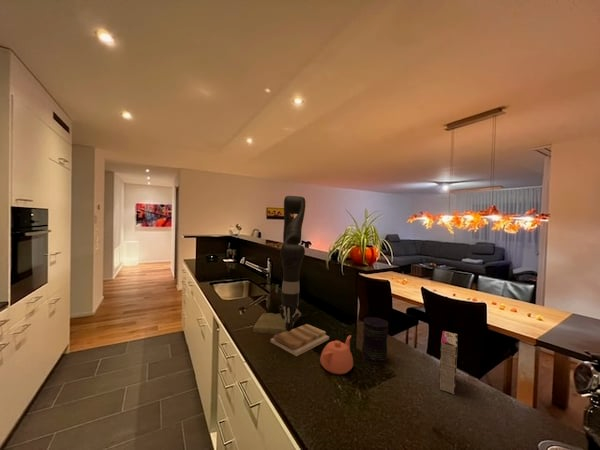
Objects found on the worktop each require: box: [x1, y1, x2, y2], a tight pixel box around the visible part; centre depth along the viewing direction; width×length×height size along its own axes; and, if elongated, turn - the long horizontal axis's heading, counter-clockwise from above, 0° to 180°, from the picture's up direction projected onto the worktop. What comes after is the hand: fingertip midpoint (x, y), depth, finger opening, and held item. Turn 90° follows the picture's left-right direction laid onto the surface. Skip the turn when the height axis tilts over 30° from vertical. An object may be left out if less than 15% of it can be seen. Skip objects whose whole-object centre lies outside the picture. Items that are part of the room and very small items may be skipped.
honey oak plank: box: [273, 327, 317, 349], centre depth 114 cm, size 15×12×2 cm
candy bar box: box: [438, 330, 459, 395], centre depth 89 cm, size 11×5×16 cm, turn 148°
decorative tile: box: [252, 312, 295, 335], centre depth 132 cm, size 19×20×4 cm
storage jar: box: [361, 316, 389, 365], centre depth 105 cm, size 10×10×15 cm
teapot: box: [319, 334, 354, 375], centre depth 98 cm, size 12×18×10 cm
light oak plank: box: [297, 323, 327, 339], centre depth 122 cm, size 7×12×2 cm, turn 47°
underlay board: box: [270, 334, 330, 357], centre depth 116 cm, size 22×16×2 cm
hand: (288, 330), depth 111 cm, fingers closed
